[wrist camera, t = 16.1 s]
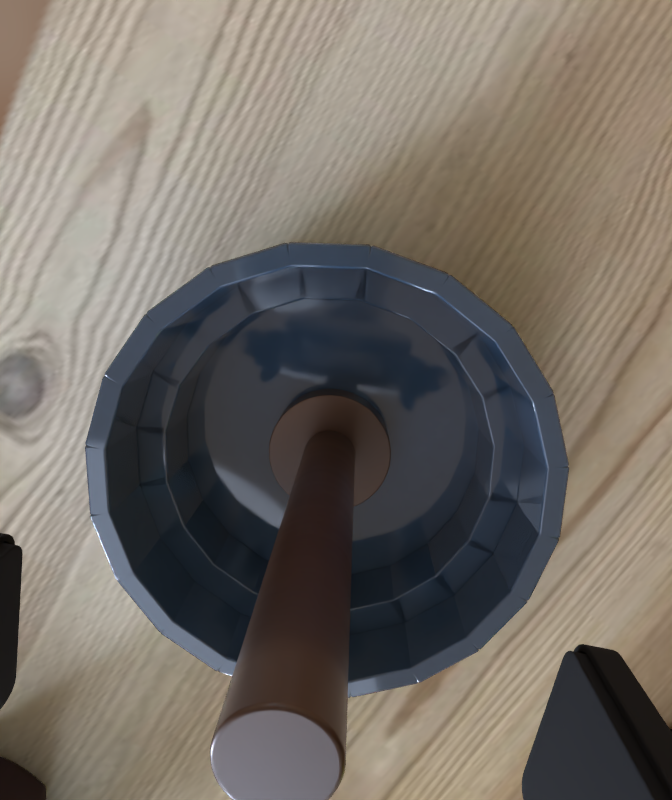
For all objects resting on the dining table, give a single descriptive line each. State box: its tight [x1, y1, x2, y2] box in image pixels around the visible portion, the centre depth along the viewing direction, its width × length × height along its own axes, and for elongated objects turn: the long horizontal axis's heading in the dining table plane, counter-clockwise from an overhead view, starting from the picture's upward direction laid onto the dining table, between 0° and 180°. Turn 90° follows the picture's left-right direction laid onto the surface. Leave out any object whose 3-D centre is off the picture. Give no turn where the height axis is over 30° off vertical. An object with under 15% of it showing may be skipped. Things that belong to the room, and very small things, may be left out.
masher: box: [210, 389, 391, 800], centre depth 15 cm, size 5×5×15 cm
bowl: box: [85, 242, 569, 698], centre depth 21 cm, size 15×15×6 cm
